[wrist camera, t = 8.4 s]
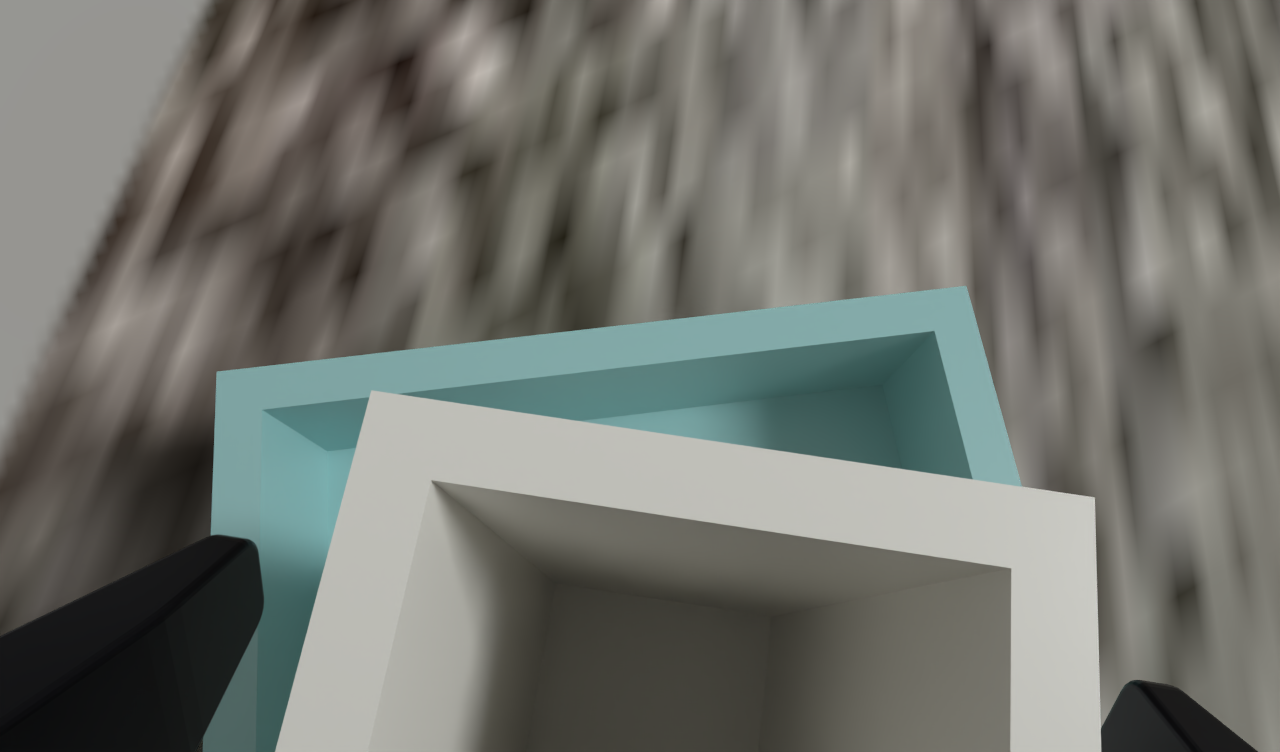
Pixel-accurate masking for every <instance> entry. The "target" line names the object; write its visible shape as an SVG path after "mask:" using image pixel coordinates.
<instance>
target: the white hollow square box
mask: <svg viewBox="0 0 1280 752" xmlns="http://www.w3.org/2000/svg"><path fill="white" fill-rule="evenodd" d="M275 752H1101V720H1100V682H1099V644H1098V606H1097V568H1096V530H1095V498H1094V497H1087V496H1081V495H1074V494H1067V493H1060V492H1054V491H1047V490H1040V489H1033V488H1027V487H1020V486H1013V485H1006V484H1000V483H993V482H986V481H980V480H973V479H966V478H959V477H953V476H946V475H939V474H932V473H926V472H919V471H912V470H905V469H899V468H892V467H885V466H878V465H872V464H865V463H858V462H851V461H845V460H838V459H831V458H824V457H818V456H811V455H804V454H798V453H791V452H784V451H777V450H771V449H764V448H757V447H750V446H744V445H737V444H730V443H723V442H717V441H710V440H703V439H696V438H690V437H683V436H676V435H669V434H663V433H656V432H649V431H642V430H636V429H629V428H622V427H616V426H609V425H602V424H595V423H589V422H582V421H575V420H568V419H562V418H555V417H548V416H541V415H535V414H528V413H521V412H514V411H508V410H501V409H494V408H487V407H481V406H474V405H467V404H460V403H454V402H447V401H440V400H434V399H427V398H420V397H413V396H407V395H400V394H393V393H386V392H380V391H373V390H371V393H370V397H369V401H368V405H367V408H366V412H365V416H364V420H363V423H362V427H361V431H360V435H359V438H358V442H357V446H356V450H355V453H354V457H353V461H352V465H351V468H350V472H349V476H348V480H347V483H346V487H345V491H344V495H343V498H342V502H341V506H340V510H339V513H338V517H337V521H336V525H335V528H334V532H333V536H332V540H331V543H330V547H329V551H328V555H327V558H326V562H325V566H324V570H323V573H322V577H321V581H320V585H319V588H318V592H317V596H316V600H315V603H314V607H313V611H312V615H311V618H310V622H309V626H308V630H307V633H306V637H305V641H304V645H303V648H302V652H301V656H300V660H299V664H298V667H297V671H296V675H295V679H294V682H293V686H292V690H291V694H290V697H289V701H288V705H287V709H286V712H285V716H284V720H283V724H282V727H281V731H280V735H279V739H278V742H277V746H276V750H275Z"/></svg>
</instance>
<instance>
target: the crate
mask: <svg viewBox="0 0 1280 752" xmlns="http://www.w3.org/2000/svg"><path fill="white" fill-rule="evenodd" d="M371 390H373V391H380V392H386V393H393V394H400V395H407V396H413V397H420V398H427V399H434V400H440V401H447V402H454V403H460V404H467V405H474V406H481V407H487V408H494V409H501V410H508V411H514V412H521V413H528V414H535V415H541V416H548V417H555V418H562V419H568V420H575V421H582V422H589V423H595V424H602V425H609V426H616V427H622V428H629V429H636V430H642V431H649V432H656V433H663V434H669V435H676V436H683V437H690V438H696V439H703V440H710V441H717V442H723V443H730V444H737V445H744V446H750V447H757V448H764V449H771V450H777V451H784V452H791V453H798V454H804V455H811V456H818V457H824V458H831V459H838V460H845V461H851V462H858V463H865V464H872V465H878V466H885V467H892V468H899V469H905V470H912V471H919V472H926V473H932V474H939V475H946V476H953V477H959V478H966V479H973V480H980V481H986V482H993V483H1000V484H1006V485H1013V486H1020V487H1022V486H1021V482H1020V478H1019V475H1018V471H1017V468H1016V464H1015V460H1014V457H1013V453H1012V449H1011V446H1010V442H1009V439H1008V435H1007V431H1006V428H1005V424H1004V420H1003V417H1002V413H1001V410H1000V406H999V402H998V399H997V395H996V392H995V388H994V384H993V381H992V377H991V373H990V370H989V366H988V363H987V359H986V355H985V352H984V348H983V344H982V341H981V337H980V334H979V330H978V326H977V323H976V319H975V316H974V312H973V308H972V305H971V301H970V297H969V294H968V290H967V287H966V286H961V287H952V288H944V289H935V290H926V291H918V292H909V293H900V294H891V295H883V296H874V297H865V298H856V299H848V300H839V301H830V302H822V303H813V304H804V305H795V306H787V307H778V308H769V309H760V310H752V311H743V312H734V313H725V314H717V315H708V316H699V317H691V318H682V319H673V320H664V321H656V322H647V323H638V324H629V325H621V326H612V327H603V328H595V329H586V330H577V331H568V332H560V333H551V334H542V335H533V336H525V337H516V338H507V339H498V340H490V341H481V342H472V343H464V344H455V345H446V346H437V347H429V348H420V349H411V350H402V351H394V352H385V353H376V354H368V355H359V356H350V357H341V358H333V359H324V360H315V361H306V362H298V363H289V364H280V365H271V366H263V367H254V368H245V369H237V370H228V371H219V372H217V379H216V406H215V433H214V460H213V487H212V514H211V535H228V536H234V537H240V538H247V539H250V540H252V541H253V542H254V543H255V544H256V546H257V548H258V552H259V559H260V567H261V575H262V583H263V592H264V609H263V613H262V617H261V620H260V622H259V624H258V626H257V629H256V631H255V633H254V635H253V637H252V639H251V641H250V643H249V645H248V647H247V649H246V651H245V653H244V655H243V657H242V659H241V661H240V663H239V665H238V667H237V669H236V671H235V673H234V675H233V677H232V680H231V682H230V684H229V686H228V688H227V690H226V692H225V694H224V696H223V698H222V700H221V702H220V704H219V706H218V708H217V710H216V712H215V714H214V716H213V718H212V720H211V722H210V724H209V726H208V728H207V731H206V733H205V735H204V737H203V752H275V750H276V746H277V742H278V739H279V735H280V731H281V727H282V724H283V720H284V716H285V712H286V709H287V705H288V701H289V697H290V694H291V690H292V686H293V682H294V679H295V675H296V671H297V667H298V664H299V660H300V656H301V652H302V648H303V645H304V641H305V637H306V633H307V630H308V626H309V622H310V618H311V615H312V611H313V607H314V603H315V600H316V596H317V592H318V588H319V585H320V581H321V577H322V573H323V570H324V566H325V562H326V558H327V555H328V551H329V547H330V543H331V540H332V536H333V532H334V528H335V525H336V521H337V517H338V513H339V510H340V506H341V502H342V498H343V495H344V491H345V487H346V483H347V480H348V476H349V472H350V468H351V465H352V461H353V457H354V453H355V450H356V446H357V442H358V438H359V435H360V431H361V427H362V423H363V420H364V416H365V412H366V408H367V405H368V401H369V397H370V393H371Z"/></svg>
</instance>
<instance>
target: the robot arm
mask: <svg viewBox="0 0 1280 752" xmlns="http://www.w3.org/2000/svg"><path fill="white" fill-rule="evenodd" d="M263 609H264V592H263V583H262V575H261V567H260V559H259V552H258V548H257V546H256V544H255V543H254V542H253V541H252V540H250V539H247V538H240V537H234V536H228V535H211V536H209V537H206V538H204V539H202V540H200V541H198V542H196V543H194V544H192V545H190V546H187V547H185V548H183V549H181V550H179V551H177V552H175V553H173V554H171V555H169V556H167V557H165V558H162V559H160V560H158V561H156V562H154V563H152V564H150V565H148V566H146V567H144V568H142V569H139V570H137V571H135V572H133V573H131V574H129V575H127V576H125V577H123V578H121V579H119V580H117V581H114V582H112V583H110V584H108V585H106V586H104V587H102V588H100V589H98V590H96V591H94V592H91V593H89V594H87V595H85V596H83V597H81V598H79V599H77V600H75V601H73V602H71V603H69V604H66V605H64V606H62V607H60V608H58V609H56V610H54V611H52V612H50V613H48V614H46V615H43V616H41V617H39V618H37V619H35V620H33V621H31V622H29V623H27V624H25V625H23V626H21V627H18V628H16V629H14V630H12V631H10V632H8V633H6V634H4V635H2V636H0V752H196V750H197V748H198V746H199V744H200V742H201V740H202V738H203V737H204V735H205V733H206V731H207V728H208V726H209V724H210V722H211V720H212V718H213V716H214V714H215V712H216V710H217V708H218V706H219V704H220V702H221V700H222V698H223V696H224V694H225V692H226V690H227V688H228V686H229V684H230V682H231V680H232V677H233V675H234V673H235V671H236V669H237V667H238V665H239V663H240V661H241V659H242V657H243V655H244V653H245V651H246V649H247V647H248V645H249V643H250V641H251V639H252V637H253V635H254V633H255V631H256V629H257V626H258V624H259V622H260V620H261V617H262V613H263ZM1101 752H1258V751H1256V750H1255V749H1254V748H1253V747H1251V746H1250V745H1249V744H1248V743H1246V742H1245V741H1244V740H1243V739H1241V738H1240V737H1239V736H1238V735H1236V734H1235V733H1234V732H1233V731H1232V730H1230V729H1229V728H1228V727H1227V726H1225V725H1224V724H1223V723H1222V722H1220V721H1219V720H1218V719H1217V718H1215V717H1214V716H1213V715H1212V714H1210V713H1209V712H1208V711H1207V710H1205V709H1204V708H1203V707H1202V706H1200V705H1199V704H1198V703H1197V702H1195V701H1194V700H1193V699H1192V698H1190V697H1189V696H1188V695H1187V694H1185V693H1184V692H1183V691H1181V690H1180V689H1179V688H1177V687H1174V686H1171V685H1168V684H1162V683H1155V682H1149V681H1143V680H1133V681H1130V682H1129V683H1127V684H1126V685H1125V686H1124V687H1123V689H1122V690H1121V692H1120V694H1119V696H1118V698H1117V700H1116V702H1115V703H1114V705H1113V707H1112V709H1111V711H1110V713H1109V715H1108V717H1107V718H1106V720H1105V722H1104V724H1103V726H1102V728H1101Z"/></svg>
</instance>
